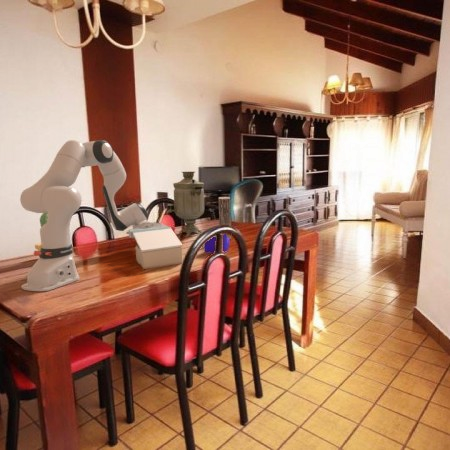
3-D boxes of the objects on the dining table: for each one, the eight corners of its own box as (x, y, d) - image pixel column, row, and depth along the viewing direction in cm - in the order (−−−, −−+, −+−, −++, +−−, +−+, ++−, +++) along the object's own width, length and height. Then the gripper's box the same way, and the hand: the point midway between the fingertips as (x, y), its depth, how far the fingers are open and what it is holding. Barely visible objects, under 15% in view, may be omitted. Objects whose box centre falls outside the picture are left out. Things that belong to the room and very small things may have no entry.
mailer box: (182, 263, 170) (181, 247, 169) (144, 269, 162) (143, 252, 161) (172, 256, 183) (171, 241, 182) (136, 261, 176) (135, 245, 174)
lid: (182, 246, 169) (182, 244, 169) (141, 252, 161) (141, 250, 160) (169, 228, 184) (170, 226, 184) (131, 232, 176) (131, 230, 175)
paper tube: (231, 237, 221) (230, 196, 217) (230, 240, 214) (229, 198, 210) (220, 237, 222) (219, 197, 217) (219, 240, 215) (217, 198, 211)
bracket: (223, 254, 185) (223, 231, 183) (204, 252, 189) (203, 230, 187) (236, 245, 201) (235, 224, 199) (218, 244, 205) (217, 224, 203)
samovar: (163, 230, 249) (159, 172, 241) (200, 227, 256) (197, 170, 249) (170, 239, 221) (166, 173, 213) (211, 235, 228) (209, 171, 221)
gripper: (125, 226, 185) (130, 230, 173) (164, 222, 194) (171, 226, 182) (126, 238, 186) (131, 243, 174) (164, 233, 195) (172, 238, 183)
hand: (152, 234), depth 178 cm, fingers closed, pressing on lid
